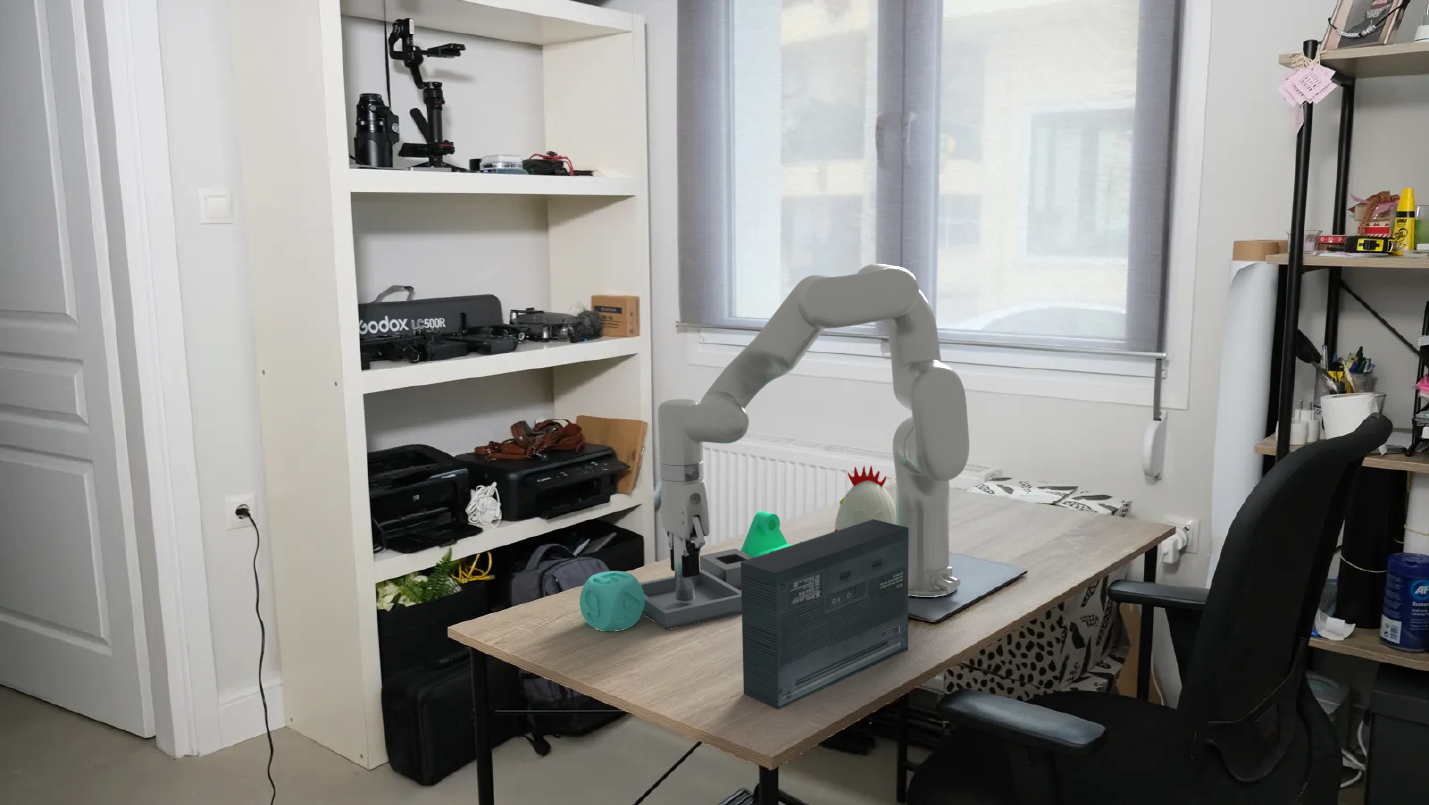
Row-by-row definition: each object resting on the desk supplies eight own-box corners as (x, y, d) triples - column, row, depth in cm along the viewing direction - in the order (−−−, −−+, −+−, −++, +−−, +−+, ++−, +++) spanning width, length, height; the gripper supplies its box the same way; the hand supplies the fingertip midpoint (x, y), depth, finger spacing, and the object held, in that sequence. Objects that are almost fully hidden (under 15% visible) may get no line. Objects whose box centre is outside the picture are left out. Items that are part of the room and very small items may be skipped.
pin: (699, 598, 189) (697, 526, 186) (681, 602, 187) (679, 529, 185) (689, 592, 192) (687, 521, 190) (671, 596, 190) (669, 524, 188)
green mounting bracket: (766, 577, 205) (765, 525, 203) (739, 568, 210) (738, 517, 208) (809, 562, 213) (809, 512, 211) (782, 554, 218) (781, 505, 216)
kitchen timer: (834, 524, 237) (834, 458, 235) (897, 524, 236) (898, 458, 233) (835, 544, 224) (835, 473, 221) (902, 544, 222) (903, 473, 220)
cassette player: (873, 638, 174) (873, 519, 170) (907, 650, 169) (908, 527, 165) (743, 694, 155) (740, 561, 151) (778, 710, 150) (775, 573, 146)
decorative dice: (646, 621, 183) (644, 576, 182) (612, 636, 177) (611, 589, 176) (613, 611, 189) (611, 567, 187) (579, 625, 183) (577, 580, 181)
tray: (747, 611, 187) (747, 594, 186) (665, 630, 179) (665, 613, 178) (703, 585, 200) (703, 569, 200) (625, 601, 193) (625, 586, 192)
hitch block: (763, 582, 201) (763, 562, 200) (726, 590, 197) (725, 570, 196) (736, 568, 210) (735, 548, 209) (700, 575, 206) (699, 555, 205)
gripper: (724, 477, 180) (727, 582, 183) (678, 459, 194) (682, 556, 198) (684, 484, 177) (688, 590, 180) (641, 465, 191) (645, 564, 194)
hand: (685, 571), depth 189 cm, fingers closed on pin, 3 cm apart
